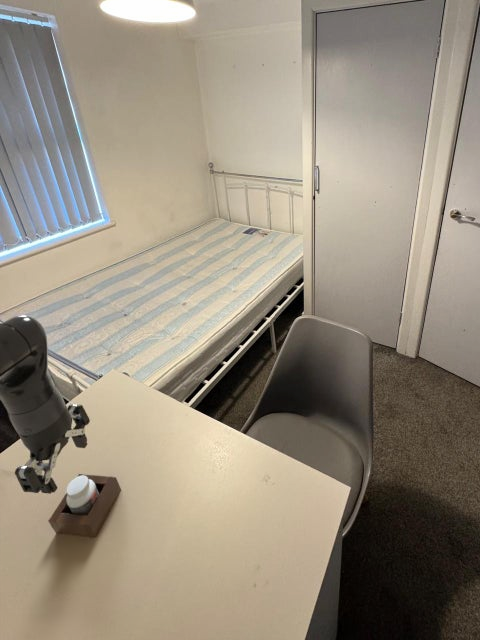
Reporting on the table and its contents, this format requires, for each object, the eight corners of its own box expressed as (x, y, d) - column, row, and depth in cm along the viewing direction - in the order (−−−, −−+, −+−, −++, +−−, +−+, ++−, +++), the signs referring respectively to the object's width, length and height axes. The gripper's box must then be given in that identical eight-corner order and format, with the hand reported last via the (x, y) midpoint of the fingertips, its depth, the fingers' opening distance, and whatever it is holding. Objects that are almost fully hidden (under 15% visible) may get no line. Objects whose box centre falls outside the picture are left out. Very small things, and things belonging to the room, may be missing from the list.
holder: (55, 533, 69) (47, 521, 67) (85, 486, 78) (79, 473, 75) (95, 537, 68) (89, 525, 66) (121, 489, 77) (116, 477, 75)
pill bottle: (104, 513, 72) (92, 488, 68) (77, 530, 70) (62, 505, 65) (101, 491, 76) (90, 466, 72) (75, 507, 74) (61, 482, 69)
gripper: (51, 381, 66) (75, 432, 73) (-16, 451, 53) (21, 505, 60) (86, 383, 66) (106, 435, 72) (26, 455, 53) (58, 509, 59)
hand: (67, 467), depth 66 cm, fingers open, 8 cm apart
